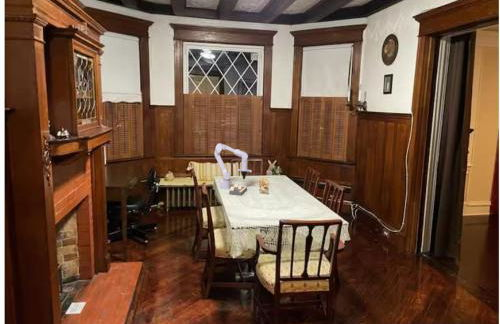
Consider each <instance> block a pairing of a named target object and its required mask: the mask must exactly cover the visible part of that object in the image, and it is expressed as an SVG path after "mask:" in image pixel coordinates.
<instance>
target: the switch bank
mask: <svg viewBox="0 0 500 324" xmlns="http://www.w3.org/2000/svg"><path fill="white" fill-rule="evenodd" d="M234 187H235V186H234ZM247 190H248V187H247V186H242V189H238V187H235V190H234V191H231V190H230V189H229V191H228V193H229V195H232V196H240V197H241V196H242V195H244V194H245V193H246V192H248V191H247Z"/></svg>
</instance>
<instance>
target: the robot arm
mask: <svg viewBox="0 0 500 324" xmlns="http://www.w3.org/2000/svg"><path fill="white" fill-rule="evenodd" d="M222 150H223V151H225V150H226V151H228V152H231V153H233V154H234V155H235V156H236V157H239V158H241V165H240V166H241V168H238V169H237V168H236V172H240V174H241V176H242V180H245V179H246V176H247V174H248V173H252V171H253V170H251V169H248V162H249V161H248V158H249V155H248V153H247V152H246V151H242V150H241V149H240V148H239V149H238V148H236V149H235V148H233V147H231V146H229V145H226V144H224V143H220V142H219V143H217V144H216V146H215V149H214V154H213V155H214V158H215V159H216V161H217V163H218V166H219V167H220V170H221V173H222V175H223V178H221V179H220V183H219V189H220V190H230V189H231V174H230V172H229V171H228V169H227V168H226V165H225V163H224V161H223V159H222V157H221V152H222Z"/></svg>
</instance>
